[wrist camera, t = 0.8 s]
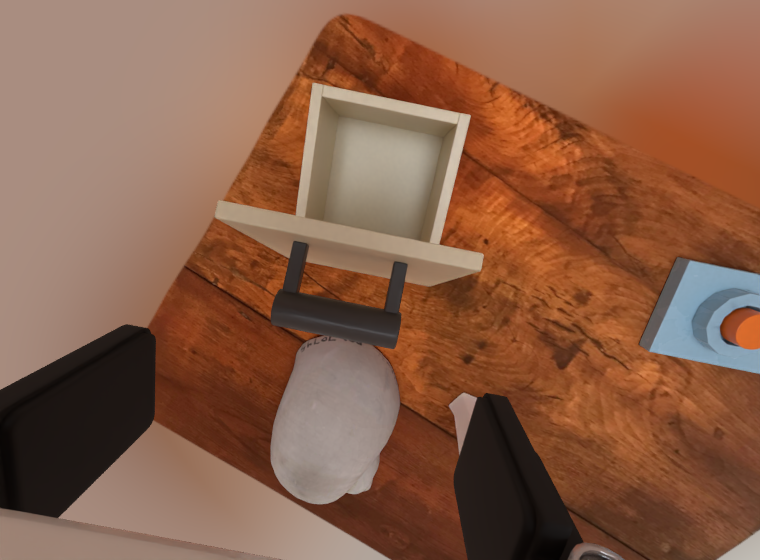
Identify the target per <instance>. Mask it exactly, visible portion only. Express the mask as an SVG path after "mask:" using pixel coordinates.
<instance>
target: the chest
mask: <svg viewBox="0 0 760 560" xmlns="http://www.w3.org/2000/svg"><path fill="white" fill-rule="evenodd" d="M470 117H471V115H468V114H463V113H458V112H453V111H448V110H443V109H438V108H433V107H429V106H424V105H419V104H414V103H409V102H404V101H399V100H395V99H390V98H385V97H380V96H375V95H370V94H366V93H361V92H356V91H351V90H346V89H341V88H337V87H332V86H327V85H322V84H317V83H312V91H311V99H310V106H309V114H308V122H307V130H306V138H305V145H304V153H303V161H302V169H301V177H300V184H299V192H298V200H297V208H296V216H301V217H306V218H311V219H315V220H320V221H325V222H330V223H335V224H340V225H345V226H350V227H355V228H360V229H365V230H370V231H375V232H379V233H384V234H389V235H394V236H399V237H404V238H409V239H414V240H419V241H424V242H429V243H434V244H439V243H440V239H441V235H442V231H443V227H444V223H445V219H446V215H447V211H448V207H449V203H450V199H451V194H452V190H453V186H454V182H455V178H456V174H457V170H458V166H459V162H460V158H461V154H462V150H463V146H464V142H465V138H466V134H467V129H468V125H469V121H470Z"/></svg>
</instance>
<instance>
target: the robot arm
mask: <svg viewBox="0 0 760 560" xmlns="http://www.w3.org/2000/svg"><path fill="white" fill-rule="evenodd" d="M155 352H156V339H155V336H154V335H153V334H151V332H150V330H149V329H148V328H143V327H138V326H133V325H123V326H121V327H119V328H117V329H115V330H113V331H111V332H110V333H108V334H106V335H104V336H102V337H100V338H98V339H96V340H94V341H92V342H90V343H89V344H87V345H85V346H83V347H81V348H79V349H77V350H75V351H73V352H72V353H70V354H68V355H66V356H64V357H62V358H60V359H58V360H56V361H54V362H53V363H51V364H49V365H47V366H45V367H43V368H41V369H39V370H37V371H36V372H34V373H32V374H30V375H28V376H26V377H24V378H22V379H20V380H18V381H16V382H14V383H12V384H11V385H9V386H7V387H5V388H3V389H1V390H0V560H281V559H276V558H270V557H265V556H260V555H255V554H249V553H244V552H239V551H233V550H227V549H223V548H217V547H212V546H207V545H201V544H196V543H191V542H185V541H180V540H174V539H169V538H163V537H158V536H153V535H147V534H142V533H136V532H131V531H126V530H120V529H115V528H109V527H104V526H98V525H92V524H87V523H81V522H76V521H70V520H65V519H59V518H58V517H59V516H60V515H61V514H62V513H63V512H64V511H66V510H67V508H69V506H70V505H72V503H73V502H75V501H76V500H77V498H79V496H80V495H82V494H83V493H84V492H85V490H87V489H88V488H89V487H90V486H91V485H92V484H93V483H94V481H96V479H98V478H99V477H100V476H101V475H102V474H103V473H104V472H105V471H106V470H107V469H108V468H109V467H110V466H111V465H112V464H113V463H114V462H115V461H116V460H117V459H118V458H119V457H120V456H121V455H122V454H123V453H124V452H125V451H126V450H127V449H128V448H129V447H130V446H131V445H132V444H133V443H134V442H135V441H136V440H137V439H138V438H139V437H140V436H141V435H142V434H143V433H144V432H145V431H146V430H147V429H148V428H149V427H150V425H151V424H152V421H153V419H154V414H155ZM454 489H455V494H456V500H457V505H458V510H459V516H460V521H461V526H462V531H463V537H464V542H465V547H466V553H467V558H468V560H624V559H623V558H622V557H621V556H619V555H617V554H616V553H614V552H612V551H611V550H609V549H607V548H605V547H602V546H600V545H597V544H594V543H585V542H583V540H582V538H581V536H580V534H579V532H578V530H577V528H576V527H575V525H574V523H573V521H572V519H571V517H570V515H569V513H568V511H567V509H566V507H565V505H564V503H563V501H562V499H561V498H560V496H559V494H558V492H557V490H556V488H555V486H554V484H553V482H552V480H551V478H550V476H549V474H548V472H547V471H546V469H545V467H544V465H543V463H542V461H541V459H540V457H539V456H538V454H537V453H536V452H535V451H534V449H533V447H532V445H531V443H530V441H529V439H528V437H527V435H526V433H525V431H524V429H523V427H522V425H521V423H520V421H519V420H518V418H517V416H516V414H515V412H514V410H513V408H512V406H511V404H510V402H509V400H508V398H507V397H505V396H499V395H494V394H489V393H486V394H485V395H484V396H483V398H482V397H478V398H477V400H476V402H475V406H474V409H473V412H472V416H471V419H470V422H469V426H468V429H467V432H466V436H465V439H464V442H463V446H462V449H461V452H460V456H459V459H458V462H457V465H456V469H455V473H454Z"/></svg>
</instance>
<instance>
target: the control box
mask: <svg viewBox="0 0 760 560" xmlns="http://www.w3.org/2000/svg"><path fill="white" fill-rule="evenodd" d="M739 308H750V309H753V310H756V311H758V312H760V274H758V273H753V272H749V271H744V270H739V269H734V268H729V267H724V266H719V265H714V264H709V263H704V262H700V261H695V260H690V259H685V258H680V257H677V259H676V261H675V263H674V266H673V268H672V270H671V272H670V275H669V277H668V279H667V281H666V284H665V286H664V288H663V291H662V293H661V295H660V297H659V300H658V302H657V304H656V306H655V309H654V311H653V313H652V316H651V318H650V320H649V322H648V325H647V327H646V329H645V331H644V334H643V336H642V338H641V340H640V343H639V345H640V346H642V347H643V348H645V349H646V350H648V351H649V352H654V353H659V354H664V355H669V356H674V357H679V358H684V359H689V360H694V361H699V362H704V363H709V364H714V365H719V366H724V367H728V368H733V369H738V370H743V371H748V372H753V373H758V374H760V348H759V349H755V350H748V349H744V348H742V347H740V346H738V345H736V344H734V343H732V342H729V341H727V340H726V339H724V338H723V336H722V335H721V333H720V325H721V323H722V321H723V319H724V317H726V316H727V315H728V314H729V313H731V312H732V311H733V310H736V309H739Z"/></svg>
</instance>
